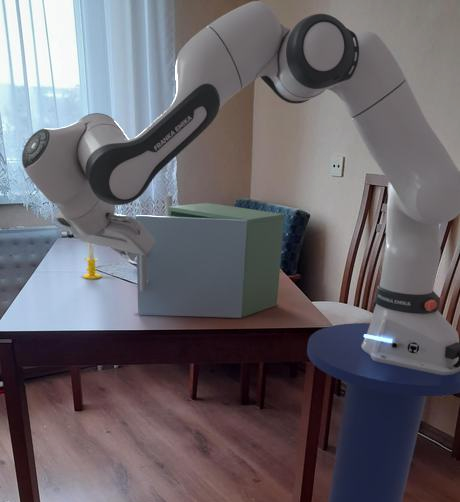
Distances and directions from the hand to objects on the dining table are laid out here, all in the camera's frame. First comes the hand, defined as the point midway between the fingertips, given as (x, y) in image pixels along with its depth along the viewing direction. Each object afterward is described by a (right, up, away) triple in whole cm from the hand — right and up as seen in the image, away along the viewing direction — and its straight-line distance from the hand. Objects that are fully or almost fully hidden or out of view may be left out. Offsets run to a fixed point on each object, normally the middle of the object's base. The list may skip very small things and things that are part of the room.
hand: (130, 256), depth 117 cm
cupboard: (+19, -2, +38) cm, 42 cm away
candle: (-22, +8, +54) cm, 59 cm away
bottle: (+2, +7, +53) cm, 54 cm away
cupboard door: (+11, -10, +21) cm, 26 cm away
